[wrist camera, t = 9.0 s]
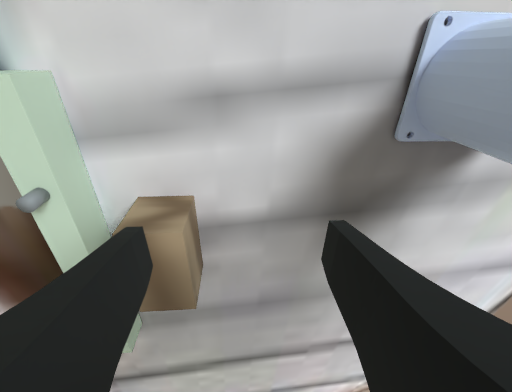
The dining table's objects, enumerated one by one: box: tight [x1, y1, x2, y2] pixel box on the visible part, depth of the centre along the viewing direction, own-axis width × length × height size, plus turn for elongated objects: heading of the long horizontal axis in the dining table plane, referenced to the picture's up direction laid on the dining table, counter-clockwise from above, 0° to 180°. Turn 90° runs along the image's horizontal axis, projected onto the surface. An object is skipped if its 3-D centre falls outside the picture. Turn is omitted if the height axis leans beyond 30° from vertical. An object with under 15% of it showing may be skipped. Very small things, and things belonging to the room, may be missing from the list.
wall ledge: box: [0, 70, 142, 353], centre depth 20 cm, size 2×26×5 cm, turn 179°
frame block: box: [112, 196, 203, 312], centre depth 20 cm, size 5×8×5 cm, turn 179°
